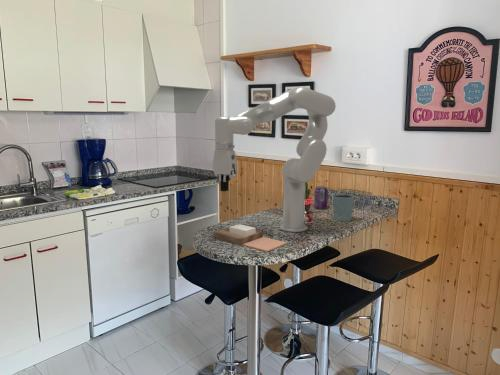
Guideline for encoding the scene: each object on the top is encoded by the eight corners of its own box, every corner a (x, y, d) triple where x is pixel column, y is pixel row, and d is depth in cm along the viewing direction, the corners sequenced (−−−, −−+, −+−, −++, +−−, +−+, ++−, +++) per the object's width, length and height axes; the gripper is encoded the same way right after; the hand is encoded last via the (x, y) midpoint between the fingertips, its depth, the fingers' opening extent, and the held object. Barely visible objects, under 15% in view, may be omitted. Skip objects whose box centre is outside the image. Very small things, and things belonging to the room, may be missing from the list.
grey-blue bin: (330, 220, 191) (331, 196, 189) (333, 216, 200) (334, 193, 198) (351, 222, 187) (353, 198, 185) (354, 218, 197) (355, 194, 195)
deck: (235, 230, 173) (235, 225, 172) (262, 237, 163) (262, 231, 163) (213, 238, 162) (213, 232, 162) (240, 245, 153) (240, 239, 152)
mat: (263, 237, 163) (263, 236, 163) (287, 243, 155) (287, 242, 155) (243, 245, 153) (243, 244, 153) (267, 251, 145) (267, 250, 145)
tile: (239, 229, 166) (239, 224, 165) (255, 233, 160) (255, 227, 160) (229, 232, 161) (229, 227, 161) (246, 236, 156) (246, 230, 155)
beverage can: (329, 208, 219) (330, 187, 217) (322, 210, 214) (323, 188, 212) (319, 206, 223) (319, 185, 221) (311, 208, 218) (312, 187, 216)
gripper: (243, 147, 159) (243, 191, 162) (217, 145, 169) (218, 187, 172) (231, 148, 154) (231, 194, 157) (205, 146, 163) (205, 189, 166)
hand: (224, 190), depth 164 cm, fingers closed
